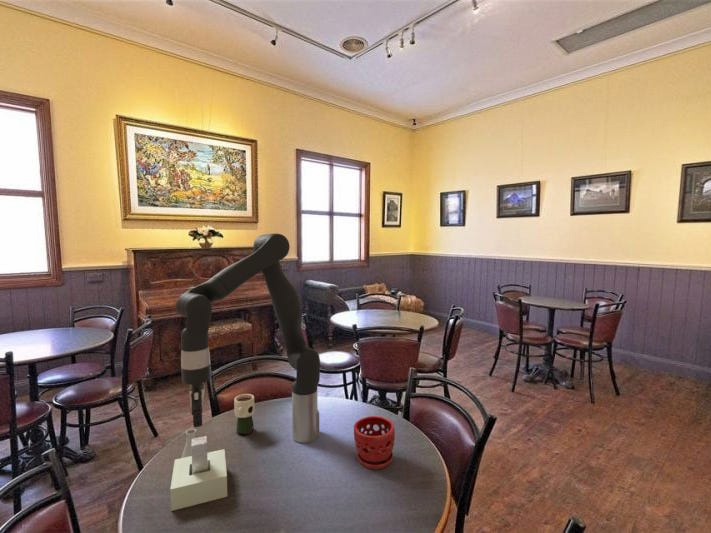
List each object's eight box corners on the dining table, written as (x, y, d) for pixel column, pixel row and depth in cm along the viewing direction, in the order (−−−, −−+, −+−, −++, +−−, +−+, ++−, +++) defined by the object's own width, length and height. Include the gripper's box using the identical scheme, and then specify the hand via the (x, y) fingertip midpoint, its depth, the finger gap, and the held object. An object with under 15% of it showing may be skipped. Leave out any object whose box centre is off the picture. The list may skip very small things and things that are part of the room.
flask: (194, 469, 112) (193, 438, 111) (174, 466, 113) (173, 435, 112) (208, 455, 119) (207, 426, 118) (189, 453, 120) (188, 424, 120)
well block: (225, 467, 112) (224, 449, 112) (227, 496, 100) (226, 475, 99) (175, 478, 107) (174, 459, 107) (171, 511, 94) (170, 489, 94)
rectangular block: (208, 481, 106) (206, 435, 105) (208, 489, 102) (206, 442, 101) (193, 485, 104) (191, 438, 103) (193, 493, 101) (191, 446, 100)
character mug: (249, 439, 128) (249, 404, 128) (230, 439, 129) (229, 404, 128) (258, 424, 139) (258, 391, 138) (240, 423, 139) (240, 391, 139)
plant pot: (365, 445, 125) (365, 411, 124) (400, 455, 118) (400, 420, 118) (346, 465, 113) (346, 429, 112) (384, 478, 107) (384, 440, 106)
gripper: (210, 370, 96) (212, 428, 97) (210, 354, 109) (212, 406, 110) (179, 374, 93) (182, 434, 94) (182, 358, 106) (185, 410, 107)
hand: (198, 419), depth 102 cm, fingers open, 8 cm apart
